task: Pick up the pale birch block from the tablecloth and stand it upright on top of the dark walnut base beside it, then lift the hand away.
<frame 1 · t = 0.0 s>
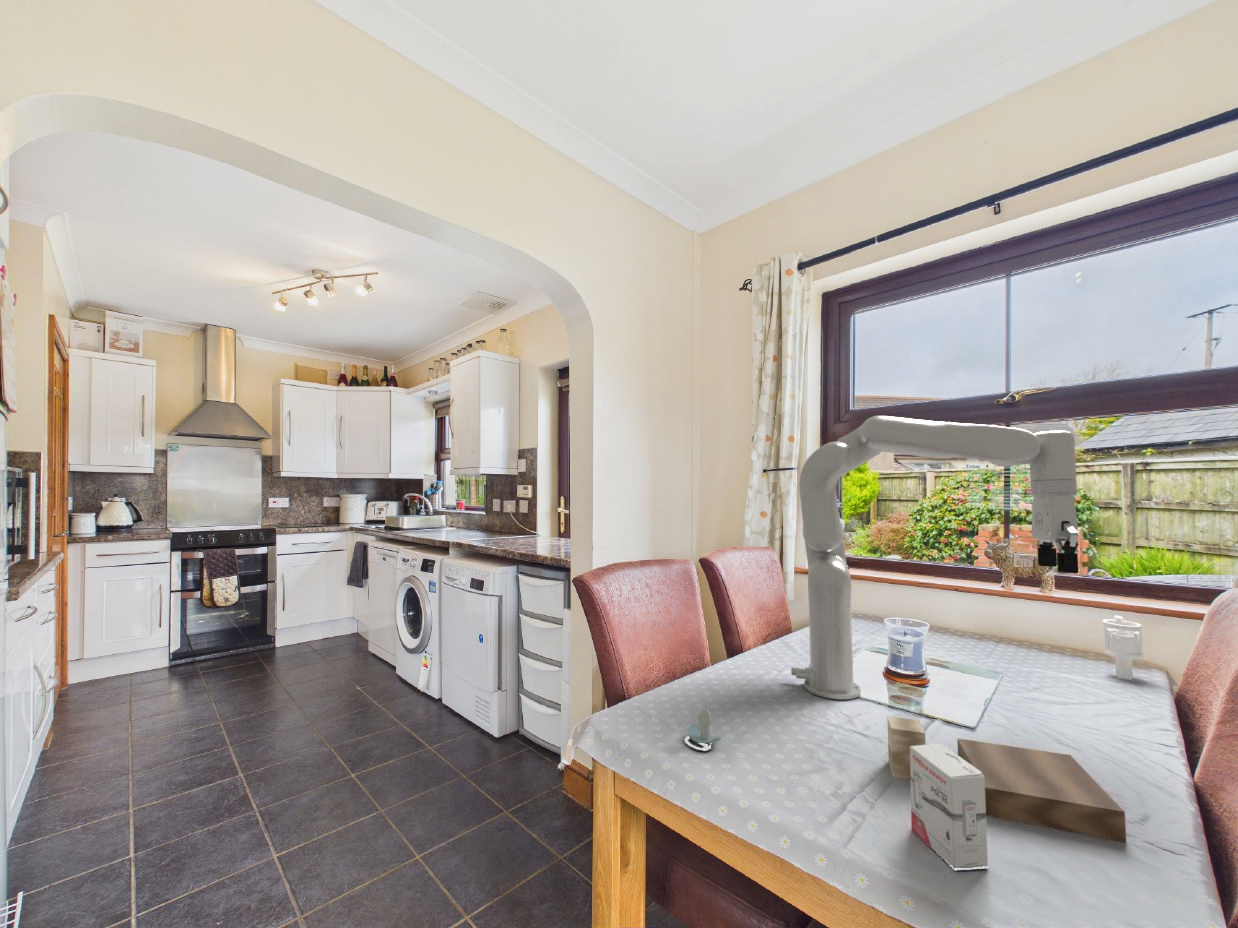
hand: (1057, 569, 107), 31 cm above the table, tool pointing down, fingers open, 9 cm apart
pacifier: (700, 745, 96), on the table
birch block: (907, 771, 87), on the table
walnut base: (1031, 796, 79), on the table
ink box: (947, 849, 68), on the table
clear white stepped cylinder: (1124, 678, 129), on the table
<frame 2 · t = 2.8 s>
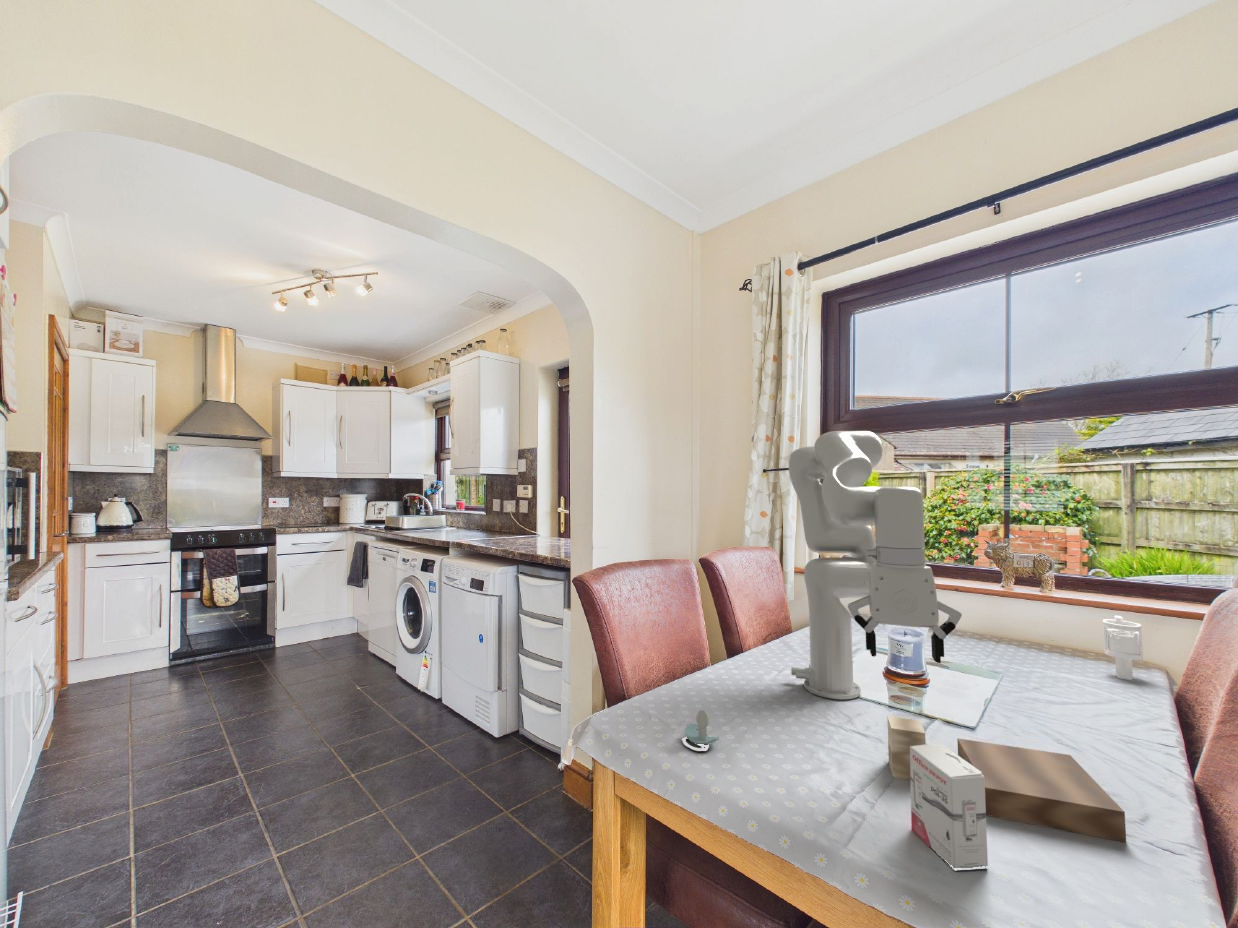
hand: (904, 657, 87), 19 cm above the table, tool pointing down, fingers open, 9 cm apart
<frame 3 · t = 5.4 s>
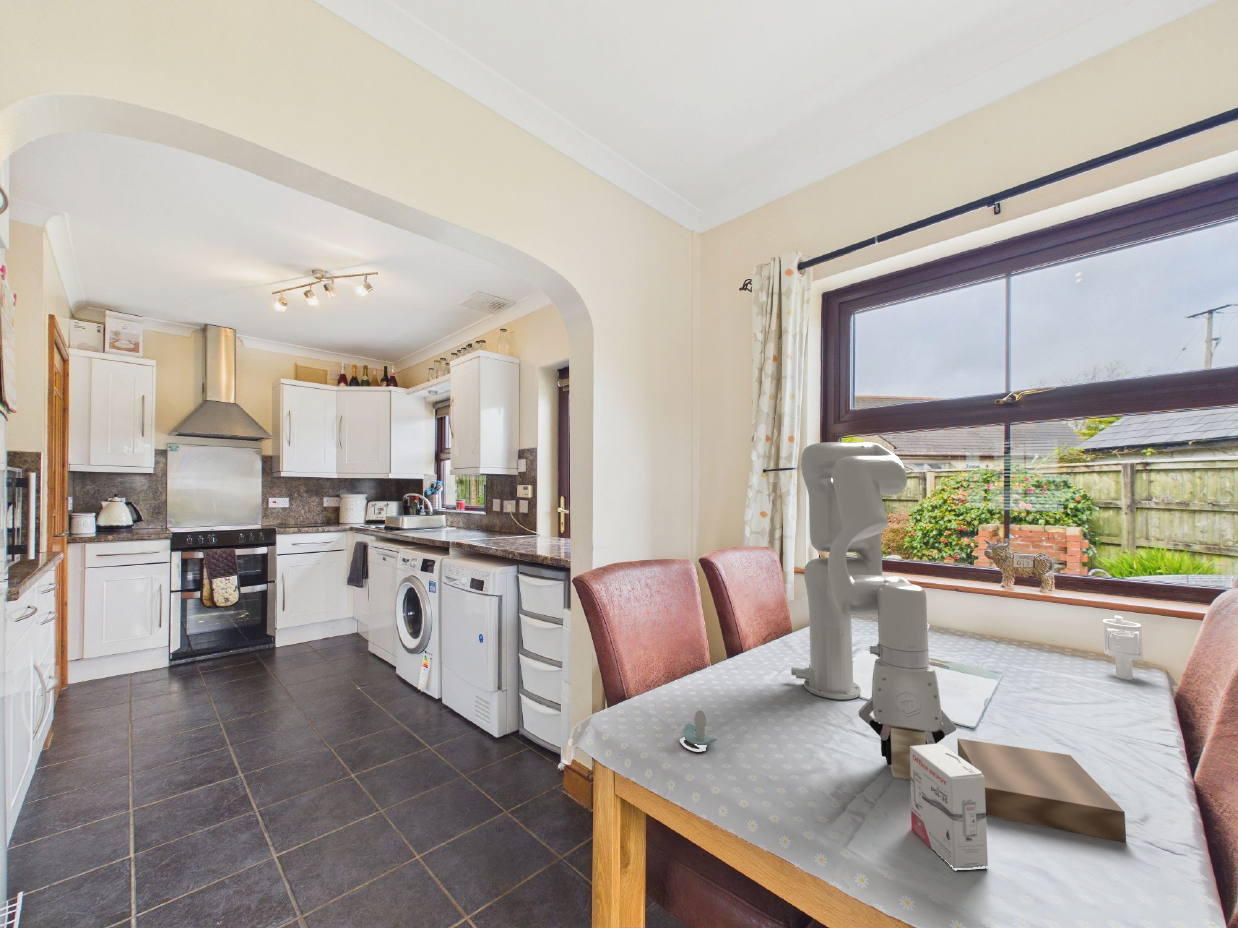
hand: (906, 762, 87), 1 cm above the table, tool pointing down, fingers closed on birch block, 5 cm apart
birch block: (907, 771, 86), on the table, touching gripper
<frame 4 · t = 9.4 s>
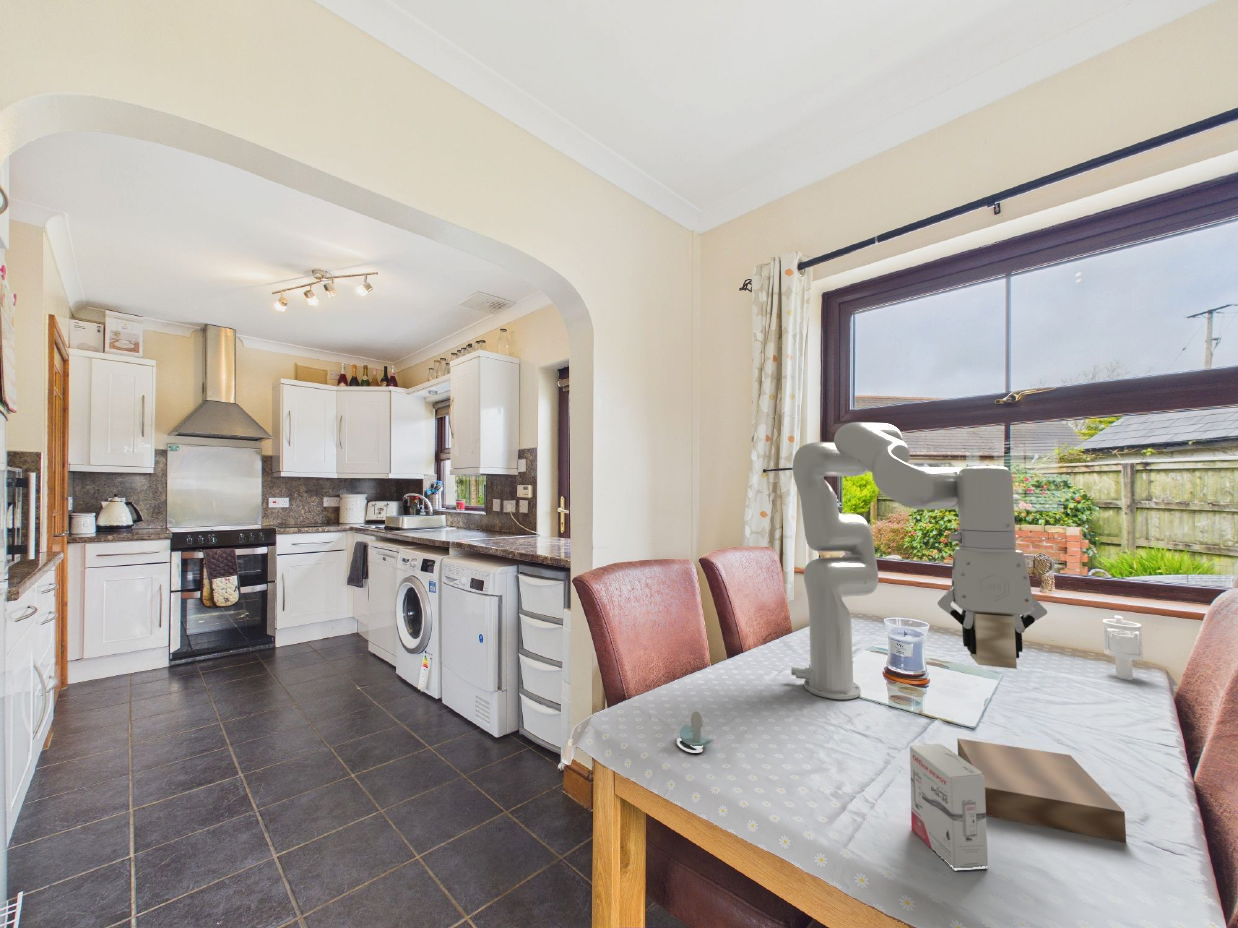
hand: (992, 652, 82), 22 cm above the table, tool pointing down, fingers closed on birch block, 5 cm apart
birch block: (992, 661, 82), point 20 cm above the table, touching gripper
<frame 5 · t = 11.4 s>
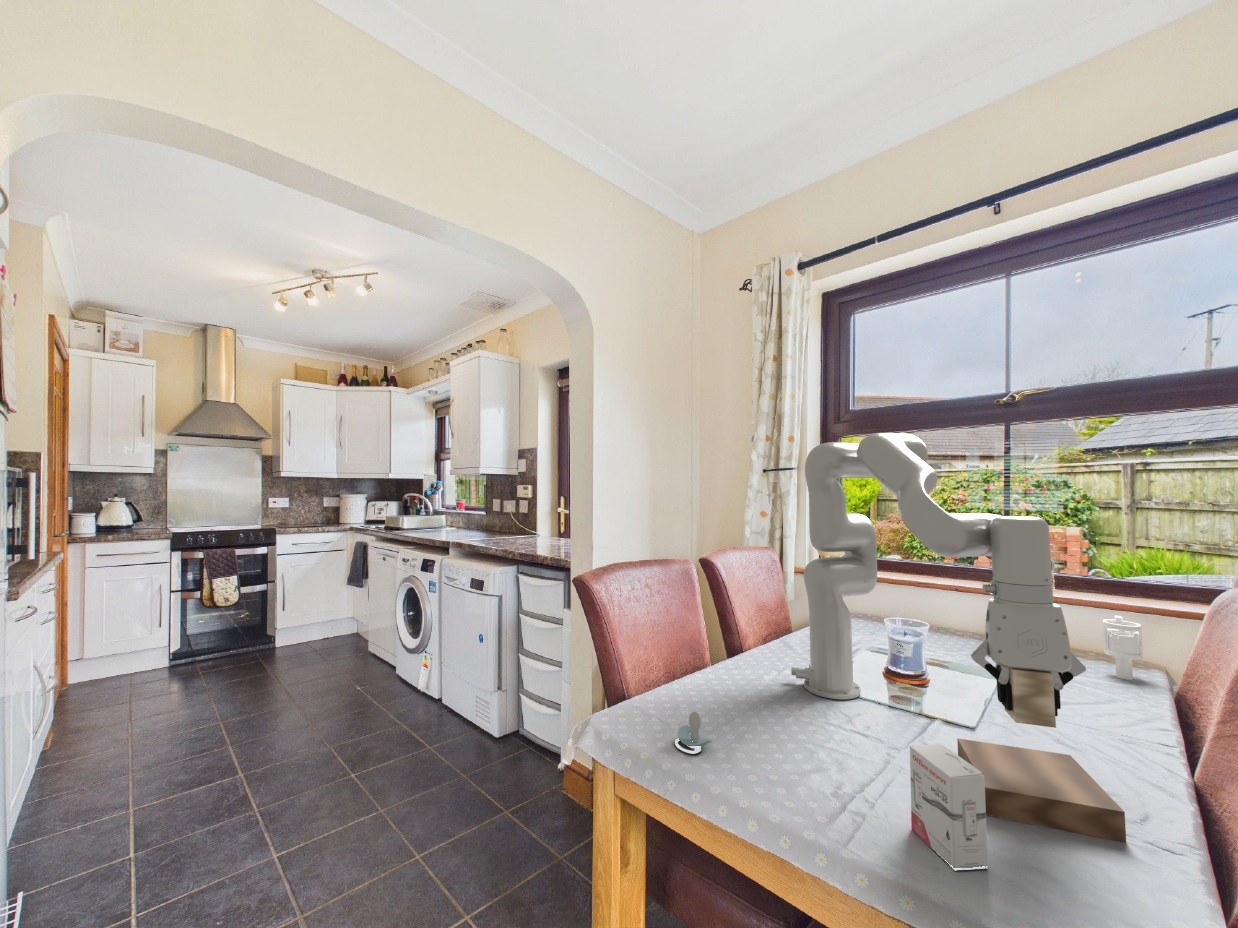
hand: (1028, 708, 80), 14 cm above the table, tool pointing down, fingers closed on birch block, 5 cm apart
birch block: (1029, 718, 80), point 12 cm above the table, touching gripper
when the fingers open (7 cm above the table, at t = 13.4 s): birch block drops 1 cm, resting on walnut base.
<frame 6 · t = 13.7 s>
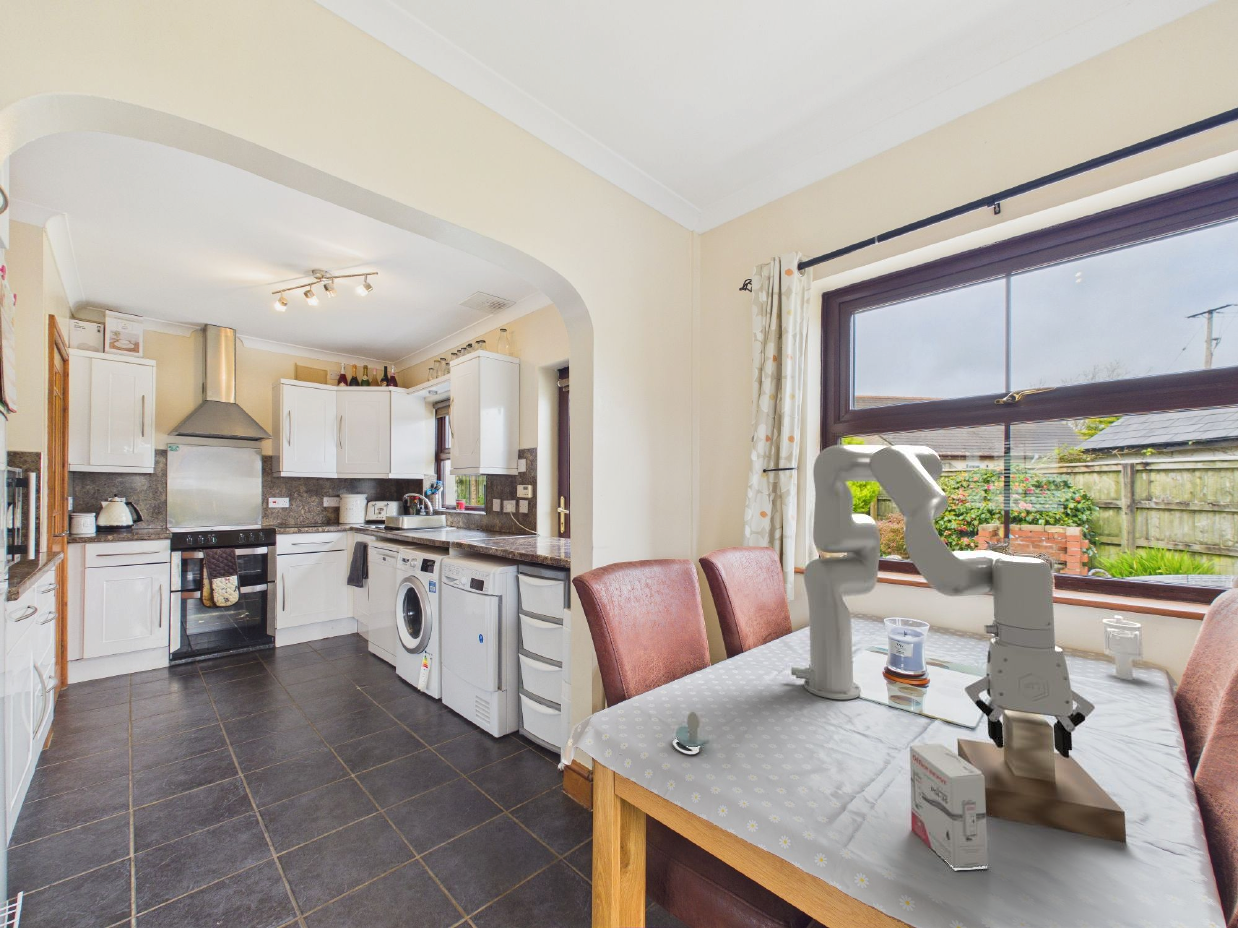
hand: (1029, 747, 80), 7 cm above the table, tool pointing down, fingers open, 7 cm apart
birch block: (1028, 769, 80), point 4 cm above the table, touching walnut base
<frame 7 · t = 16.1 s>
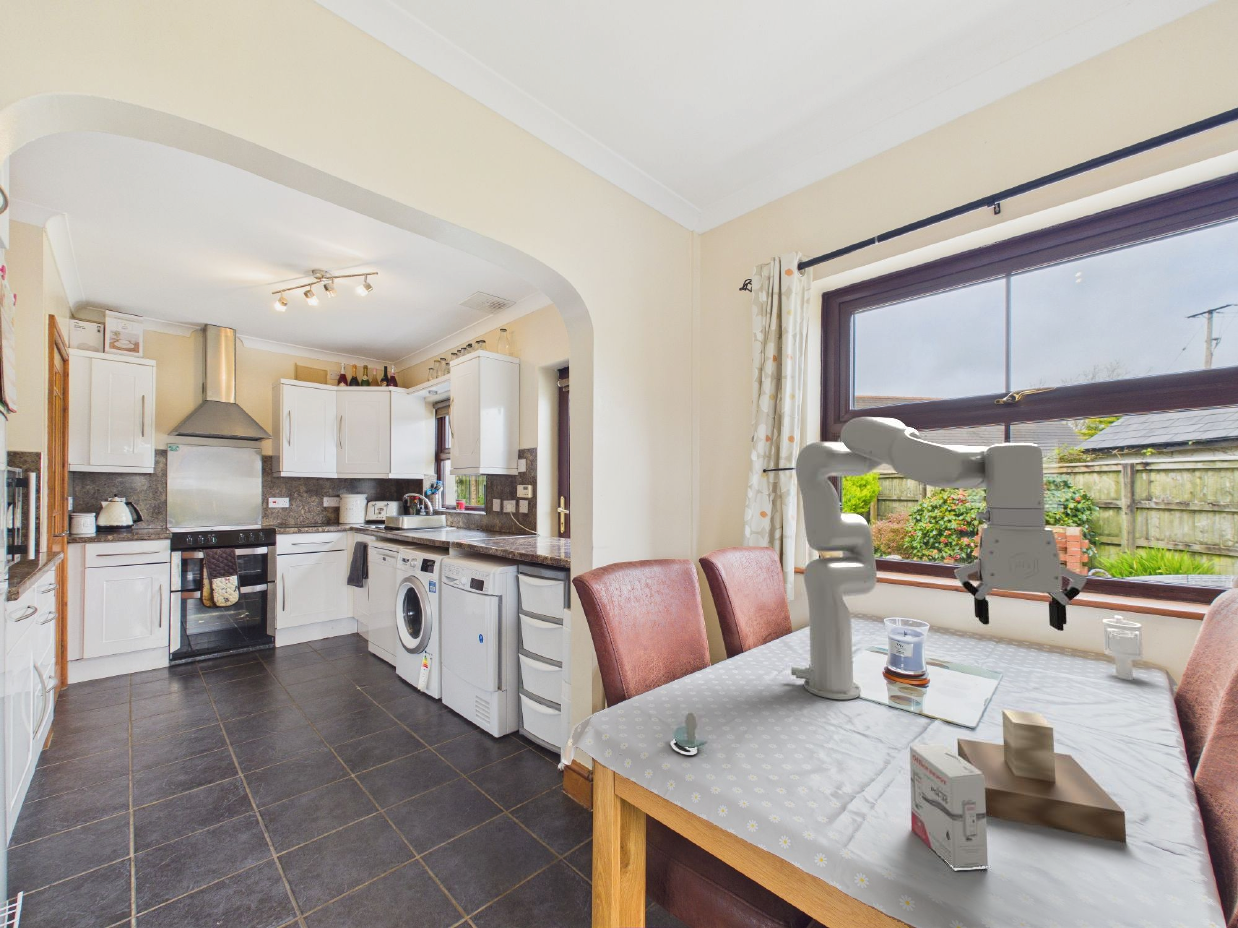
hand: (1019, 625, 82), 26 cm above the table, tool pointing down, fingers open, 9 cm apart
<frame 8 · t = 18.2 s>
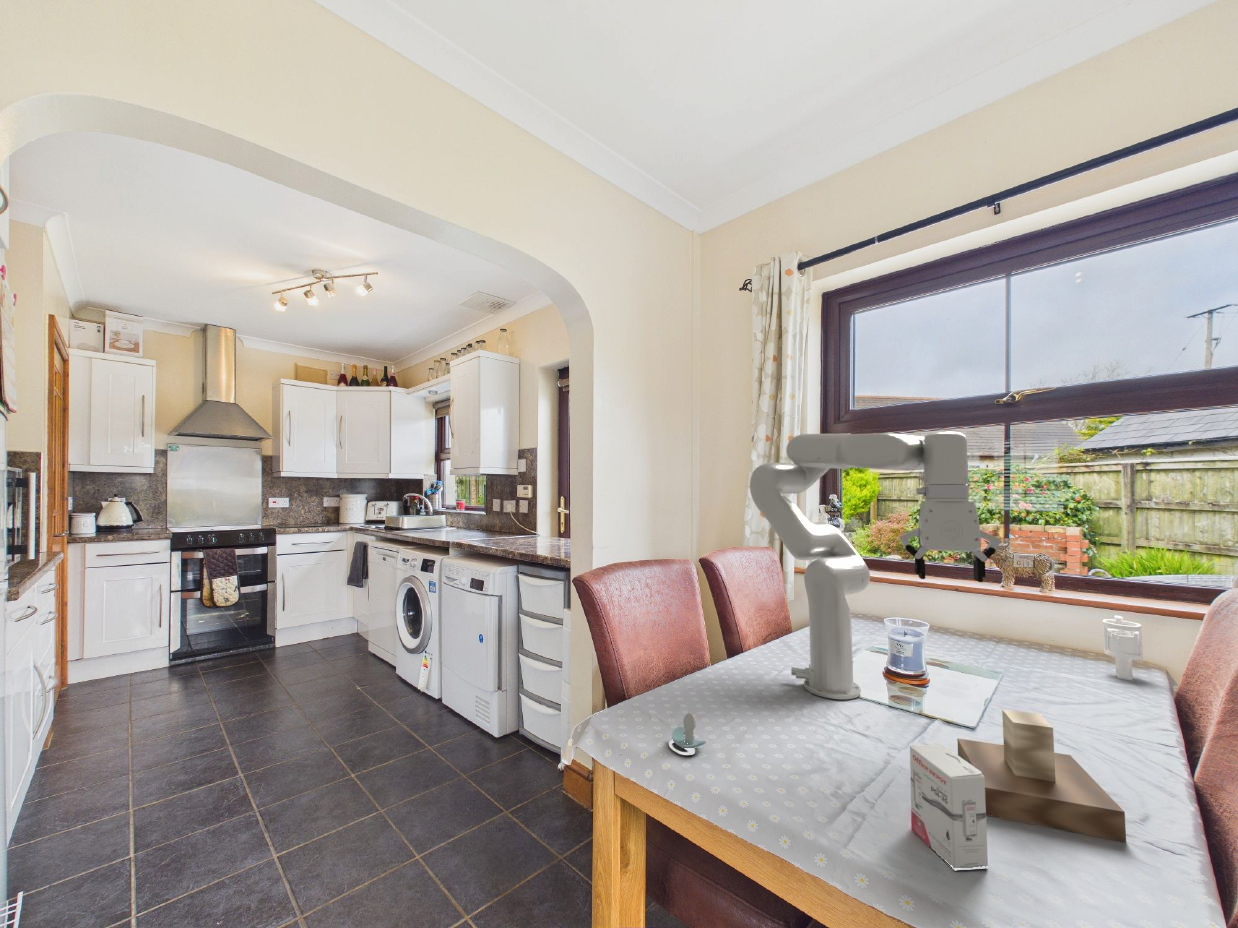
hand: (949, 579, 101), 30 cm above the table, tool pointing down, fingers open, 9 cm apart
at the end: birch block inside the target area on the walnut base (0.2 cm from its centre), point 4.0 cm above the walnut base's base; birch block tilted 0°; the gripper is holding nothing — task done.
